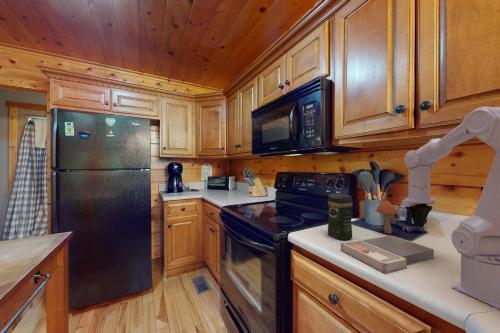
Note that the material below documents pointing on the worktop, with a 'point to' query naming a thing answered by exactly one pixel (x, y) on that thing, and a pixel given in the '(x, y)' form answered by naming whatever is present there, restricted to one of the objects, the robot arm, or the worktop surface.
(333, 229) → the coffee jar
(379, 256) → the cream tile
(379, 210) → the mushroom
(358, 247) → the terracotta tile
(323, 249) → the worktop surface
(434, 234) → the worktop surface
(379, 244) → the slate board
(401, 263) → the grey bin
